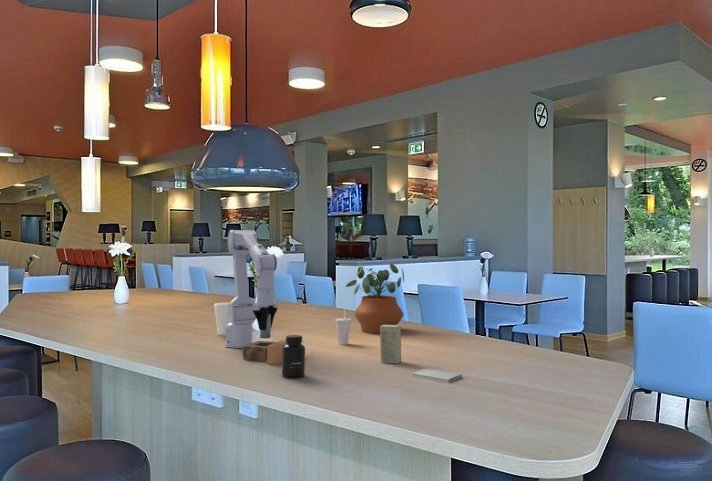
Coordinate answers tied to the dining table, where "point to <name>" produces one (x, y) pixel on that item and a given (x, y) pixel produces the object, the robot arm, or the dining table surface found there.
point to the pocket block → (256, 351)
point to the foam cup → (222, 317)
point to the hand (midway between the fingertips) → (265, 329)
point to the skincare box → (390, 343)
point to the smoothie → (343, 329)
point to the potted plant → (377, 301)
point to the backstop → (275, 352)
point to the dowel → (266, 332)
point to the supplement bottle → (293, 357)
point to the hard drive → (437, 375)
